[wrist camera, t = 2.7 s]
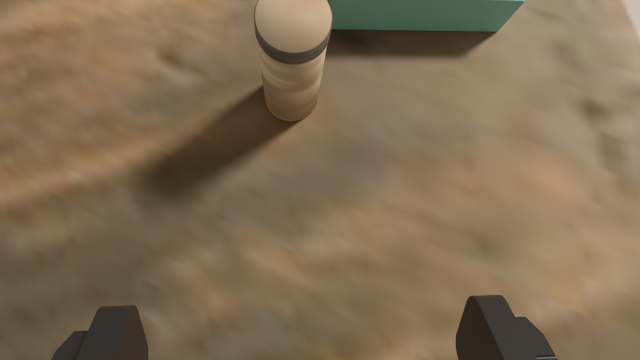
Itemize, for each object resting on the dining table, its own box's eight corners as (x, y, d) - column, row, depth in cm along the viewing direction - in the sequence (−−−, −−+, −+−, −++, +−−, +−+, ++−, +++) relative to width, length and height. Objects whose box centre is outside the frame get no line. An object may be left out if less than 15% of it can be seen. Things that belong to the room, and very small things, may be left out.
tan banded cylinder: (263, 122, 27) (253, 52, 18) (263, 70, 28) (253, -21, 19) (318, 122, 28) (334, 53, 19) (317, 71, 28) (331, -19, 19)
